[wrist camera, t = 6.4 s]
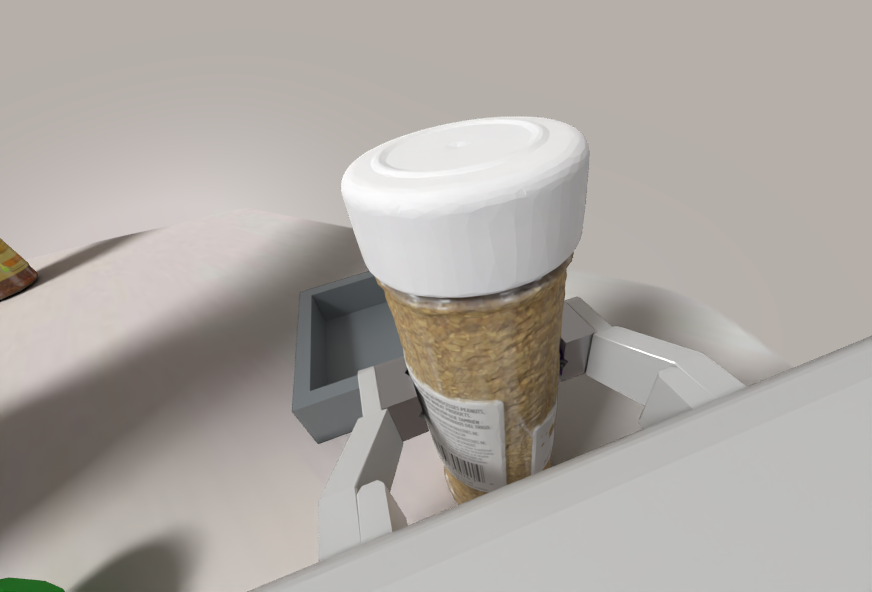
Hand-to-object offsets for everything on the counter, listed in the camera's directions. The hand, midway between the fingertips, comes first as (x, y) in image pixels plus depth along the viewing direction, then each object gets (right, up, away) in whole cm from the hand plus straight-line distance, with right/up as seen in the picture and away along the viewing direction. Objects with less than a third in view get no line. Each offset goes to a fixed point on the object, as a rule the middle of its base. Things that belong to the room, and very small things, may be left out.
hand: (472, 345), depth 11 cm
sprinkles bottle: (+1, -6, +4) cm, 7 cm away
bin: (-4, -2, +10) cm, 11 cm away
